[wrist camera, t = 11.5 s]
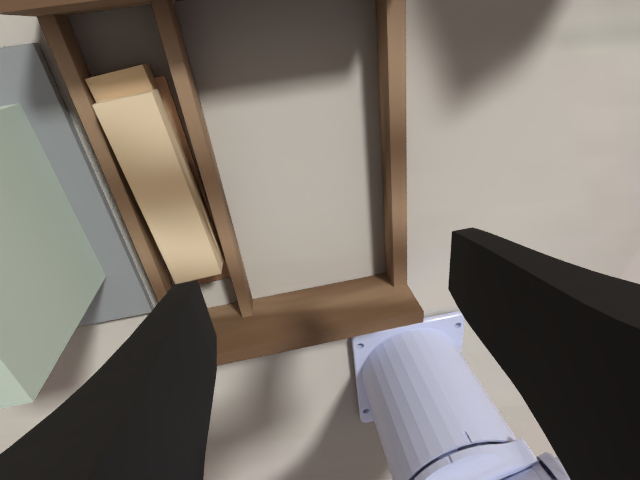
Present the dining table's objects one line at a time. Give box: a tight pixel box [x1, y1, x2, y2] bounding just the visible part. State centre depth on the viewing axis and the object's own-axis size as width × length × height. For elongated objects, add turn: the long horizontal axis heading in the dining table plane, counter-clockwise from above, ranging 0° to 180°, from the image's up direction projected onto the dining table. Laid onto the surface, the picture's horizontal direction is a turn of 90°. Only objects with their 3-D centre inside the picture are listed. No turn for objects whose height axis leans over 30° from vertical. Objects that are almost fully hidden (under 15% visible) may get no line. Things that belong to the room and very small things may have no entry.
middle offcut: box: [85, 63, 225, 263], centre depth 18 cm, size 10×2×1 cm, turn 13°
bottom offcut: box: [155, 76, 231, 284], centre depth 20 cm, size 11×2×1 cm, turn 10°
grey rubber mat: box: [0, 43, 154, 327], centre depth 18 cm, size 14×6×1 cm, turn 7°
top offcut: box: [92, 89, 223, 284], centre depth 18 cm, size 9×2×1 cm, turn 11°
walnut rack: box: [0, 0, 424, 366], centre depth 18 cm, size 17×14×4 cm
